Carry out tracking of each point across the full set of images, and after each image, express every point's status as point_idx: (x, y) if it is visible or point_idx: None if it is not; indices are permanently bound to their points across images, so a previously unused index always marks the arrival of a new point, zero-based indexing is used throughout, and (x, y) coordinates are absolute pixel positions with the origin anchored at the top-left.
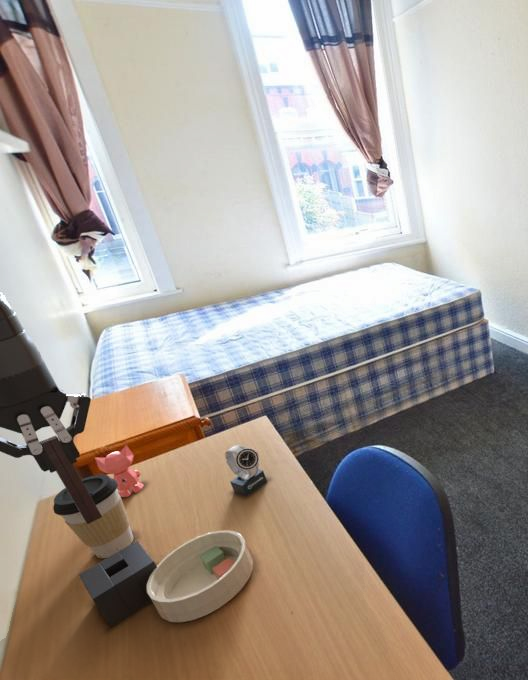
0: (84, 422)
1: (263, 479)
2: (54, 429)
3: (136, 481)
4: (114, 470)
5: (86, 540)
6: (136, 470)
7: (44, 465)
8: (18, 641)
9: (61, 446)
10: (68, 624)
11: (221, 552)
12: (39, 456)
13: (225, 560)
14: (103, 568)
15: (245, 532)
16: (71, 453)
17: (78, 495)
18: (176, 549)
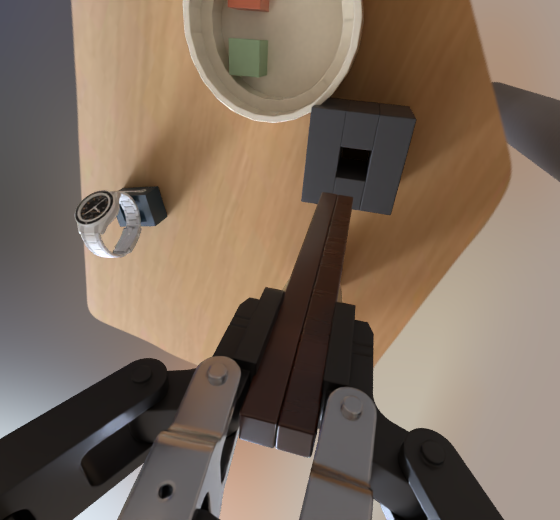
0: (86, 395)
1: (122, 190)
2: (203, 461)
3: None
4: None
5: (339, 293)
6: None
7: (357, 340)
8: (474, 223)
9: (260, 365)
10: (429, 185)
11: (230, 40)
12: (353, 382)
13: (235, 3)
14: (363, 188)
15: (190, 98)
16: (257, 314)
17: (331, 233)
18: (273, 118)
